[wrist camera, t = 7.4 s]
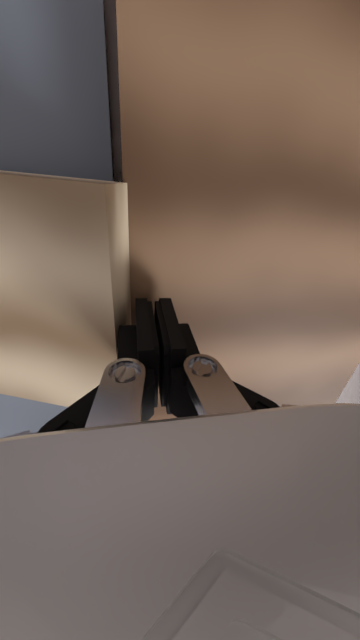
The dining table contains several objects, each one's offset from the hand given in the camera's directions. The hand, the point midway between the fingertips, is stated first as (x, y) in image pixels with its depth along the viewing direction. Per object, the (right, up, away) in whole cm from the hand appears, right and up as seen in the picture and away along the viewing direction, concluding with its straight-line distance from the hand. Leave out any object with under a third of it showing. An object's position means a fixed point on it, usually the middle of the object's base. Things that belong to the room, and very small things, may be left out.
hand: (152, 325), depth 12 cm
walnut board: (+6, +2, +4) cm, 8 cm away
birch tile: (-5, +1, 0) cm, 5 cm away
